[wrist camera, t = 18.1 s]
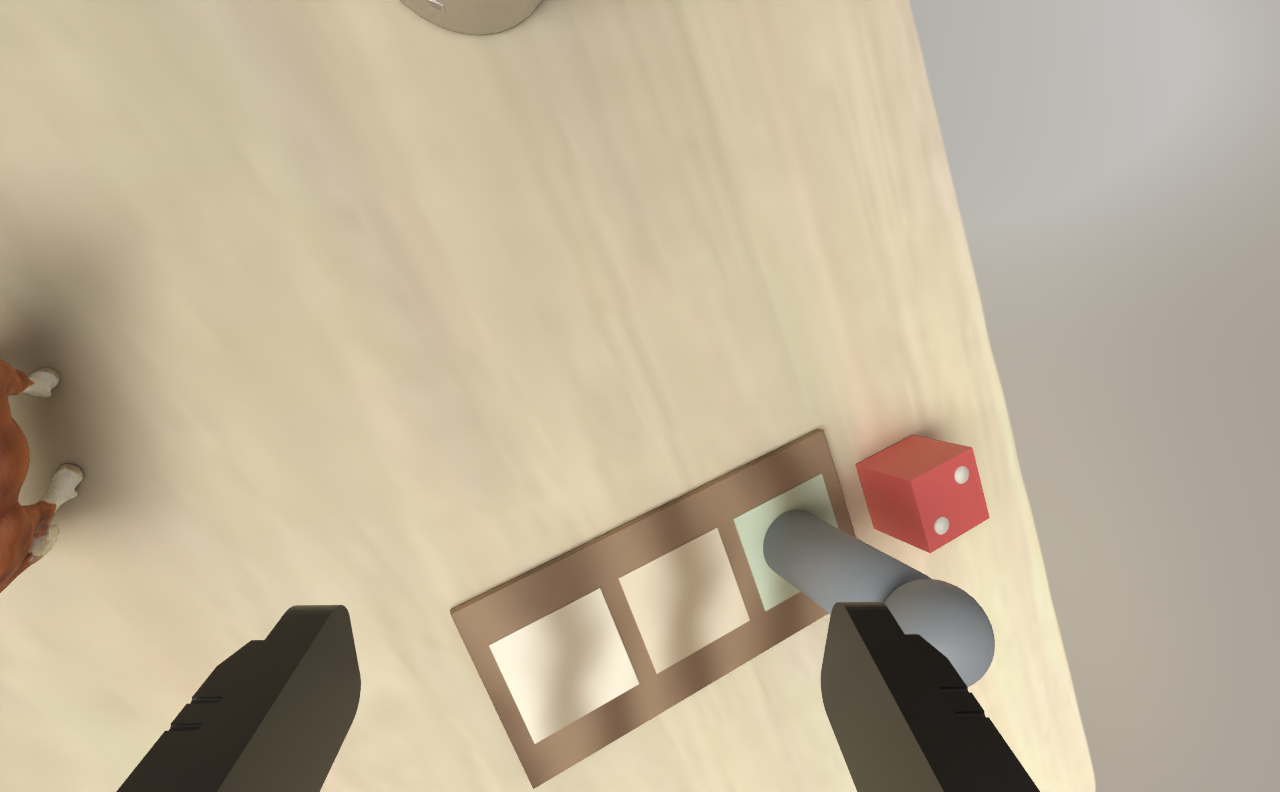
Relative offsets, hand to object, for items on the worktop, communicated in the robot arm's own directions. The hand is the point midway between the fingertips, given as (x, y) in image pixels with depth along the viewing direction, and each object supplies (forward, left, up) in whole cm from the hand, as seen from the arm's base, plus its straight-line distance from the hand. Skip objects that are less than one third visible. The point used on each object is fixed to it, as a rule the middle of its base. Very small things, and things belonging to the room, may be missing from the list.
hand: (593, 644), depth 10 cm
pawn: (-6, +20, -23) cm, 31 cm away
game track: (+1, +16, -24) cm, 29 cm away
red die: (-14, +25, -24) cm, 37 cm away
